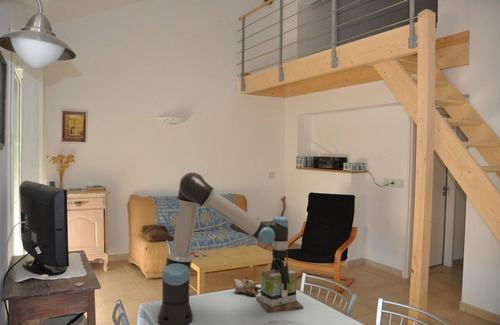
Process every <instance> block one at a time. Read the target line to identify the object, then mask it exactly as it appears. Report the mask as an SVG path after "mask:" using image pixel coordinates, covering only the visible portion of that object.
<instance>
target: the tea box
mask: <svg viewBox="0 0 500 325" xmlns="http://www.w3.org/2000/svg"><path fill="white" fill-rule="evenodd" d="M288 274H289V280H290V283H288V286H287V297H281V292H282V284H281V282H282V277H281V273H280V270H279V269H275V270H271V269H270V270H263V271H261V275H260V276H261V277H260V278H261V280H260V288H261V289H260V297H261V298H260V301H262V302H263V303H265V304H267V305H269V306H271V307H274V306H277V305H282V304H286V303H291V302H295V301H296V300H297V282H298V278H297V277H298V272H296V271H294V270H291V269H289V268H288Z"/></svg>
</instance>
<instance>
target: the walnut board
mask: <svg viewBox="0 0 500 325" xmlns="http://www.w3.org/2000/svg"><path fill="white" fill-rule="evenodd" d="M260 298H261V296H256V302H257V303H258V304H259V305H260V306H261V307H262V309H263V310H265V312H266V313H267V314H268V313H277V312H286V311H287V312H289V311H296V310H297V311H298V310H304V305H303V304H302V303H300V302H299V301H298V300H297V299H296V301H295V302H291V303H286V304H282V305H277V306H274V307H271V306H269V305H267V304H265V303H263V302H262V301H260Z"/></svg>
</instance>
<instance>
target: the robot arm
mask: <svg viewBox="0 0 500 325" xmlns="http://www.w3.org/2000/svg"><path fill="white" fill-rule="evenodd" d="M177 201H178V202H179V206H178V212H177V219H176V223H175V230H174V235H173V236H174V237H173V241H172V246H171V253H169V254H168V255H167V257H166V263H165V267H164V268H163V269H162V275H161V277H162V290H161V292H162V297H161V298H162V299H161V300H162V302H161V306H160V309H159V311H158V314H157V323H158V324H159V325H189V324H191V323H192V322H193V320H194V314H193V310H192V308H191V304H190V277H191V266H192V262H193V259H192V257H191V256H190V254H191V249H192V242H193V236H194V232H195V226H196V220H197V213H198V210H199V209H198V208H199V206H201V207H207V208H208V209H210V210H211V211H212V212H215V213H216V214H218V216H220V217H222V218H223V219H225V220H227V221H228V222H230V223H231V224H233V225H235V226H236V227H237V228H240V229H241V230H242V231H244V232H246V233H247V234H248V236H249V237H250V238H255V239H256V240H258V241H259V242H260V243H261V244H262V245H270V244H271V245H272V251H271V252H272V254H271V255H272V261H271V265H270V266H271V267H270V270H275V269H279V270H280V273H281V277H282V282H281V284H282V292H281V297H287V286H288V283H290V280H289V274H288V269H289V268H288V261H285V259H286V258H288V257H289V256H288V254H289V252H288V251H289V250H288V248H289V219H288V218H287V217H285V216H274V217H273V218H272V220H271V221H260V220H259V219H257V218H256V217H255V216H253V215H251V214H250V213H248V212H247V211H245V210H244V209H243V208H241V207H239V206H238V205H236V204H235V203H233V202H231V201H230V200H228V199H227V198H225V197H224V196H223V195H221V194H220V193H217V192H216V191H215V188H214V187H213V186H211V185H210V184H208V182H206V181H205V179H204V177H203V176H202V175H201V174H199V173H197V172H188V173H186V174H184V175H183V176H182V177H181V178H180V181H179V188H178V194H177Z"/></svg>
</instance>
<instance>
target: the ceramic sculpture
mask: <svg viewBox="0 0 500 325" xmlns="http://www.w3.org/2000/svg"><path fill="white" fill-rule="evenodd" d="M233 287H234V289H235V293H237V294H239V293H243V294H246V295H250V296H257V295H259V292H258V291H261V287H259V286H257V285H256V283H255V282H254V280H252V279H249V278H248V277H244V278H242V279H241V280H240V279H237V278H233Z"/></svg>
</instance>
